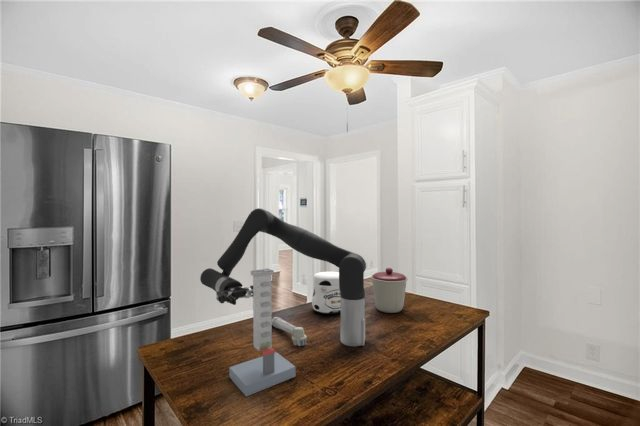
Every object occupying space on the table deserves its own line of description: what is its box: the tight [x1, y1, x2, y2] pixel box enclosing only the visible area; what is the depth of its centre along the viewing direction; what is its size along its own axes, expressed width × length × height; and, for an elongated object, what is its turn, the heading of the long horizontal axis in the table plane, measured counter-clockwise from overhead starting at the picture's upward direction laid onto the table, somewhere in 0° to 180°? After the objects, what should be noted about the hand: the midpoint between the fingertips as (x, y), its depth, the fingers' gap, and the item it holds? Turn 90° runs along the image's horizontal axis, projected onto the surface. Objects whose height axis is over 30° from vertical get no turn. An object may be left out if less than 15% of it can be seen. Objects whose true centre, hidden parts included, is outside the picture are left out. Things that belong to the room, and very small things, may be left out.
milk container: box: [311, 271, 340, 315], centre depth 150 cm, size 17×17×18 cm
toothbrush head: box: [272, 316, 308, 347], centre depth 122 cm, size 5×7×25 cm
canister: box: [370, 267, 409, 314], centre depth 152 cm, size 18×18×21 cm
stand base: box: [228, 347, 297, 397], centre depth 92 cm, size 16×12×10 cm
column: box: [250, 268, 275, 352], centre depth 91 cm, size 6×5×23 cm
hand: (247, 299), depth 100 cm, fingers open, 8 cm apart
